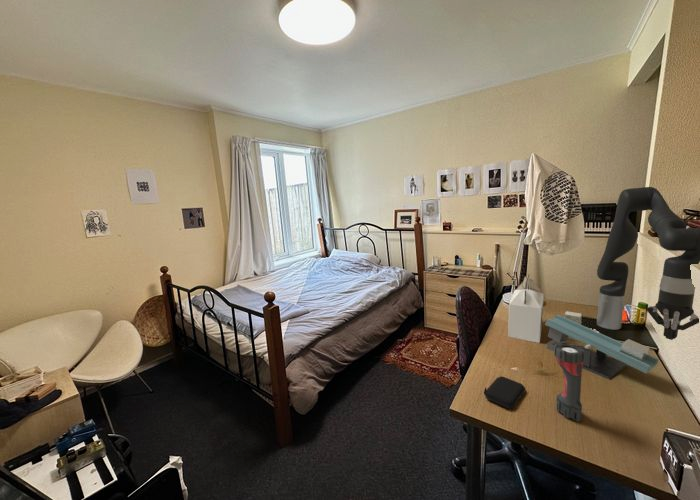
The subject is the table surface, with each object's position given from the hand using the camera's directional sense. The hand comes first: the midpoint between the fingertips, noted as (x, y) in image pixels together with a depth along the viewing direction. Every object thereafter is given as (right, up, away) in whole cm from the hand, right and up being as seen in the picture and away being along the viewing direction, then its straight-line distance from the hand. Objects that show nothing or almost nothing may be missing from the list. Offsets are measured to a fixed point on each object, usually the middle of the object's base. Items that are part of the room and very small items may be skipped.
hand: (669, 338), depth 97 cm
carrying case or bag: (-52, -23, +8) cm, 57 cm away
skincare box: (-1, -12, +41) cm, 43 cm away
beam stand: (-10, -16, +25) cm, 31 cm away
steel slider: (-3, -10, +10) cm, 14 cm away
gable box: (-18, -12, +51) cm, 55 cm away
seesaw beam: (-8, -13, +21) cm, 27 cm away
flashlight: (-37, -24, -2) cm, 44 cm away
